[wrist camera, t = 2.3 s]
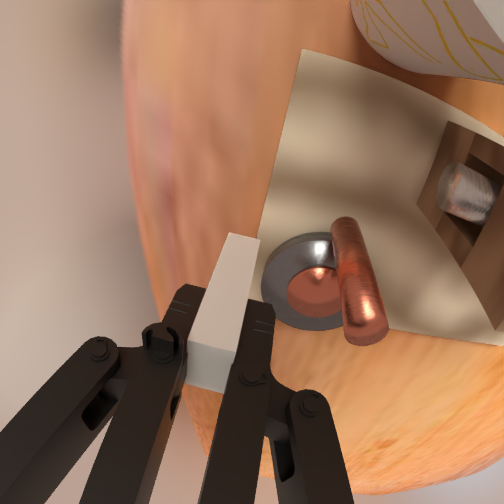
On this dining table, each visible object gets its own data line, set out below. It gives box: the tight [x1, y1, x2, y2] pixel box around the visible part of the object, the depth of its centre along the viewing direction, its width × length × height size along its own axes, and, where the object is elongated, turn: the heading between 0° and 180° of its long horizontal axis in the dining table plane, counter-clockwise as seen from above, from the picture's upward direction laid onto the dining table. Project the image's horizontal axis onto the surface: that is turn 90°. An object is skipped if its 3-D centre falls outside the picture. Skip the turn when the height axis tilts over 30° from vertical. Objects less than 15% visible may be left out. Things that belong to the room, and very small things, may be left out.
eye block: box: [248, 49, 504, 346], centre depth 14 cm, size 18×30×12 cm, turn 79°
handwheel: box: [261, 216, 389, 346], centre depth 17 cm, size 10×8×9 cm
